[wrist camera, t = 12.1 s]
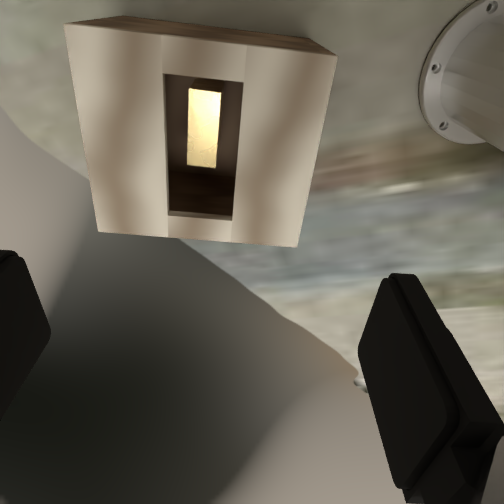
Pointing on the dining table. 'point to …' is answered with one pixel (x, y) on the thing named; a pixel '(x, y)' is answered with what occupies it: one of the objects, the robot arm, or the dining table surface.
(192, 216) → the box with rectangular opening
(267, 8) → the dining table surface
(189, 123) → the tan flat block
